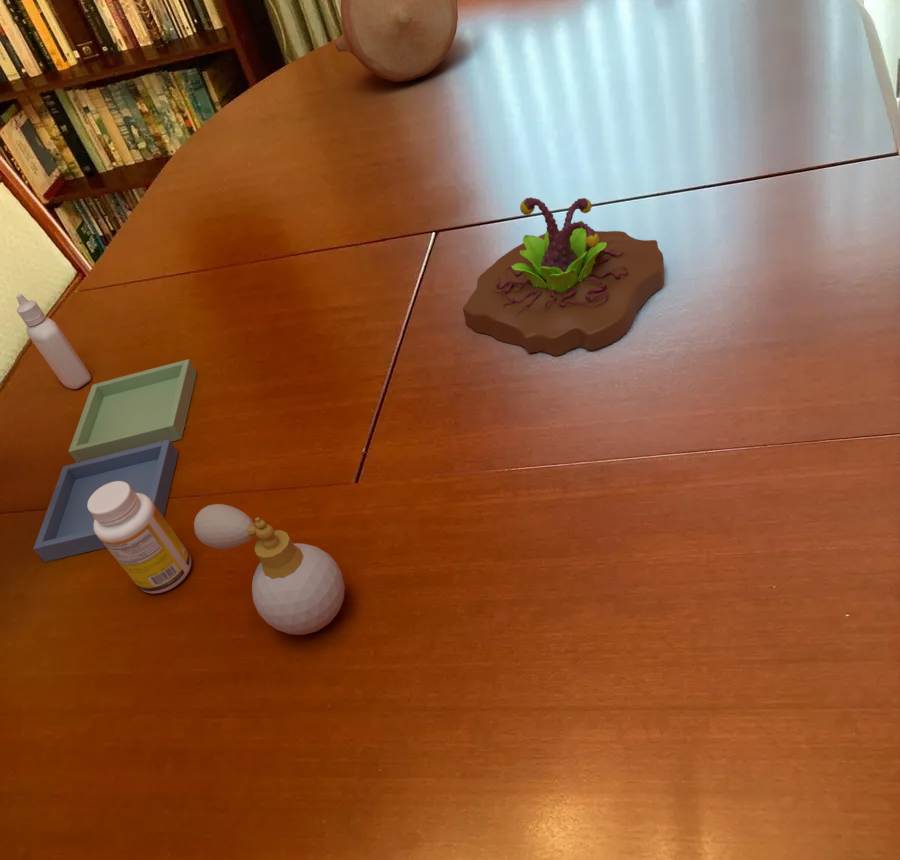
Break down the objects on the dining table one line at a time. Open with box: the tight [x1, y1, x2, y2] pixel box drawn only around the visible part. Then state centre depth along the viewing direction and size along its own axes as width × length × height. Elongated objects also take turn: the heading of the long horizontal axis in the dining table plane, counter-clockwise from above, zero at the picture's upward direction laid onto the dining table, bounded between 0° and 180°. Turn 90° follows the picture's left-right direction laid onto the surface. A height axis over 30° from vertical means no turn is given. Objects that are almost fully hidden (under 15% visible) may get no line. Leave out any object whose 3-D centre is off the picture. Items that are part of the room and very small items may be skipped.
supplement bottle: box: [87, 481, 192, 595], centre depth 79 cm, size 6×6×10 cm
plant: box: [462, 197, 665, 357], centre depth 91 cm, size 20×20×11 cm
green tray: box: [68, 358, 198, 463], centre depth 101 cm, size 13×13×2 cm
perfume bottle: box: [193, 503, 346, 636], centre depth 70 cm, size 8×10×12 cm
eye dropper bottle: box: [15, 293, 92, 390], centre depth 107 cm, size 4×6×12 cm
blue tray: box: [33, 440, 179, 563], centre depth 91 cm, size 13×13×2 cm
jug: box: [334, 0, 459, 83], centre depth 148 cm, size 20×19×30 cm
